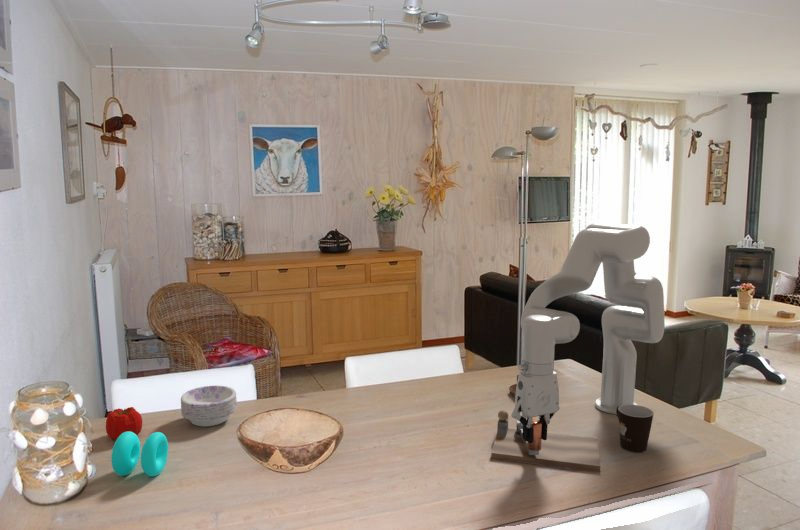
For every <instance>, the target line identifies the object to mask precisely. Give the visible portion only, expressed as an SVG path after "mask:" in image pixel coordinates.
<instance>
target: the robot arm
mask: <svg viewBox="0 0 800 530" xmlns="http://www.w3.org/2000/svg"><path fill="white" fill-rule="evenodd" d="M650 242H651V238H650V233H649V231H648V229H647V228H646V227H644V226H642V225H635V224H619V223H603V222H596V223H591V224H589V225H587V226H586V227H585V228H584V229H582V230H580V231H579V232H578V233H577V235H576V236H575V238H574V241H573V242H572V245H571V246H570V249H569V251H568V254H567V255H566V257H565V260H564V262H563V264H562V267H561V268H560V270H559V272H557V273H556V274H554V275H553V276H551V277H549V278H547V279H546V280H545V281H544V282H542V283H541V284H539V285H538V286H537V287H536V288H535V289H534V290H533V292H531V294H530V296H529V297H528V300H527V302H526V304H525V306H524V308H523V310H522V314H521V317H520V328H521V330H522V344H521V345H522V346H521V364H518V365H517V366H518V367H517V369H518V370H519V371H520V372H519V373H518V375H519V376H518V381H517V380H516V384H517V387H516V395H514V397H515V398H514V399H515V400H514V408H513V409H512V410H513V411H512V412H511V415H510V416H511V418H513V419H514V420H516V421H520V422H521V424H523V434H522V436H523V439H524V440H525V441H527V442H528V443H532V442H533V428H532V427H531V425H532V419H533V418H535V417H538V420H540V421H541V422H542V439H543V440H547V433H548V425H549V424H550V422H551V419H552V418H553V417H554V415H555V414H556V413H558V411H559V410H560V403H559V402H560V395H559V391H560V389H559V379H558V375H557V372H556V371H555V370H554V368H555V367H554V366H555V348H556V347H555V346H556V344H557V345H558V344H567V343H570V342H572V341H573V340H575V339H576V338H577V336H579V333H580V329H581V323H580V319H578V317H577V316H576V315H575V314H573V313H570V312H568V311H564V310H556V309H552V308H546V307H547V306H548V305H550V304H551V303H552V302H553V301H555V300H558V299H560V298H564V297H566V296H571V295H574V294H577V293H581V292H583V291H586V290H588V289H589V288H590V287H591V286H592V284H593V282H594V280H595V278H596V275H597V273H598V270H599V269H600V266H601V264H602V269H603V270H602V271H603V273H602V274H603V284H604V286H603V287H604V293H605V298H606V300H607V301H608V303H610V304H613V305H611V306H608V307H607V308H605V309H604V310H603V312H602V315H601V328H602V337H603V347H602V348H603V351H602V352H603V353H602V354H603V355H602V356H603V357H602V369H601V385H600V386H601V387H600V397H599V398H596V400H594V401H595V403H594V405H595V407H596V408H597V409H598V410H600V411H602V412H605V413H608V414H610V415H616V416H617V413H616V410H617V407H618V406H622V405H638V403H636V402H635V385H636V372H637V371H636V370H637V358H638V357H637V355H638V354H637V350H636V347H635V345H634V343H633V341H636V342H641V343H647V344H656V343H659V342H660V341H661V340H662V339H663V336H664V334H665V325H666V324H665V300H664V299H665V296H664V287H663V283H662V282H661V281H660V279H658V278H657V277H656V276H651V275H643V274H637V272H635V260H637V259H639V258H641V257H643V256H644V255H645V254H646V253H647V252H648V249H649V247H650V244H651V243H650Z"/></svg>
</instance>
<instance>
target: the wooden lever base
mask: <svg viewBox="0 0 800 530" xmlns="http://www.w3.org/2000/svg"><path fill="white" fill-rule="evenodd" d="M497 417H498V421H497V427H496V428H497V431H496V434H495V438H494V442H493V446H492V450H491V457H490V458H491V459H492V460H502V461H509V462H517V463H524V464H525V463H526V464H531V465H532V464H534V465H538V466H539V465H541V466H549V467H555V468H556V467H557V468H558V467H559V468H563V469H564V468H565V469H571V470H572V469H573V470H580V471H581V470H582V471H587V472H589V471H590V472H597V473H601V465H602V464H601V459H600V458H601V457H600V449H599V442H598V441H599V440H598V438H596V437H587V436H577V435H571V434H560V433H551V432H547V440H543V439H542V443H541V450H539V455H529V454H528V452H527V449H526V447H525V445H524V443H523V440H522V438H521V436H520V434H518V433H517V432H516V431H517V428H509V413H508V411H507V410H505V409H502V410H500V411H498V413H497Z"/></svg>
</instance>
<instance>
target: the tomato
mask: <svg viewBox="0 0 800 530" xmlns="http://www.w3.org/2000/svg"><path fill="white" fill-rule="evenodd" d="M142 429H143V417H142V414H140V412H139V411H137V410H136V408H135V407H134V406H131V407H130V406H129V407H127V408H124V409H123V408H116V409H113V411H110V412H109V413H108V414H107V417H106V420H105V431H106V434H107V436H108V438H109V439H110V440H114V441H116V440H117V438H118V437H119V436H120V435H121V434H122V433H124V432H127V431H130V432H133V433H135V434H136V435H137V436H139V434H140V433H141V432H142Z"/></svg>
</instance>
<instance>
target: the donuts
mask: <svg viewBox="0 0 800 530" xmlns="http://www.w3.org/2000/svg"><path fill="white" fill-rule="evenodd" d="M168 454H169V442H168V437H167V436H166V435H165V434H164V433H163V432H160V431H154V432H153V433H150V435H148V437H146V439H145V441H144V442H143V444H142V448H141V442H140V439H139V437H138V435H136V434H135V433H133V432H130V431H127V432H124V433H122V434H121V435H120V436H119V437H118V438H117V440H115V442H114V444H113V447H112V452H111V460H110V461H111V466H112V467H111V468H112V470H113V471H114V473H115V474H116V475H118V476H120V477H121V476H123V477H124V476H128V475H130V474H131V473H132V472H133V471H134V470H135V469H136V467H137V466H138V462H139V460H140V466H141V469H142V471H143V472H144V474H146V475H147V476H149V477H156V476H158V475H160V473H161V472H162V471H163V470H164V468H165V466H166V463H167V460H168V457H169V455H168Z"/></svg>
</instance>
